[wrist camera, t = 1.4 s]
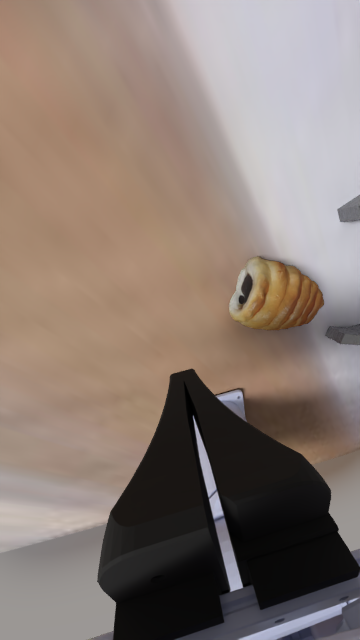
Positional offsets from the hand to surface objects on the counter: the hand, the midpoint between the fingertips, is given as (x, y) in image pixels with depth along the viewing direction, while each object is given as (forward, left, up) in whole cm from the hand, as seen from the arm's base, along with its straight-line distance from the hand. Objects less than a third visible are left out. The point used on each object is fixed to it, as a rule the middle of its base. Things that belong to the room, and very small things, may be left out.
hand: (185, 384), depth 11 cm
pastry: (0, -11, -10) cm, 15 cm away
